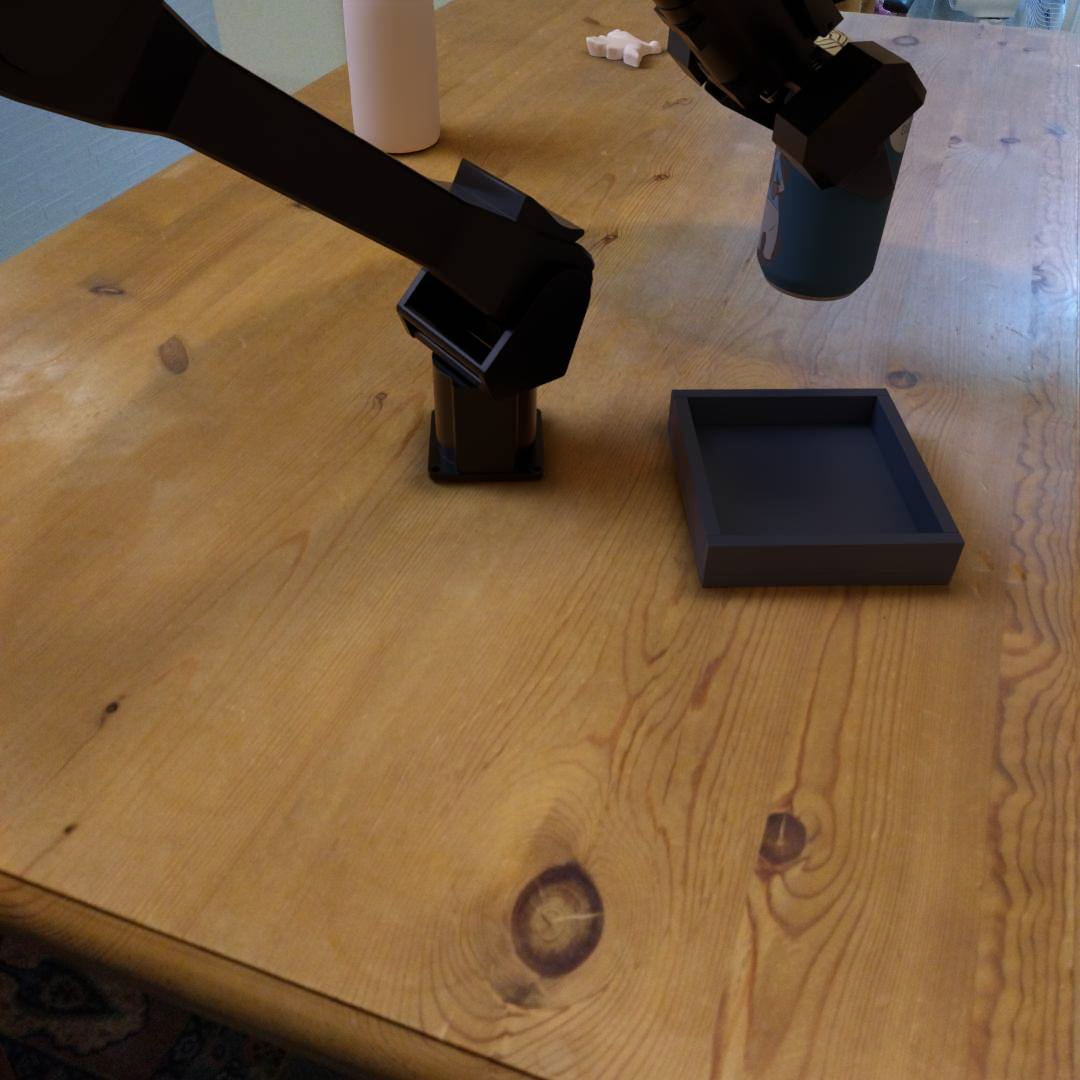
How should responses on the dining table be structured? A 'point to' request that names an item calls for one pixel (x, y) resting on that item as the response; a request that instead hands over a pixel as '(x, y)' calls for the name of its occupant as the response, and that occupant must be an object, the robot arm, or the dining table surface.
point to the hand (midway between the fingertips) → (855, 170)
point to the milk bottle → (393, 72)
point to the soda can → (822, 230)
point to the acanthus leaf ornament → (621, 47)
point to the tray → (807, 490)
